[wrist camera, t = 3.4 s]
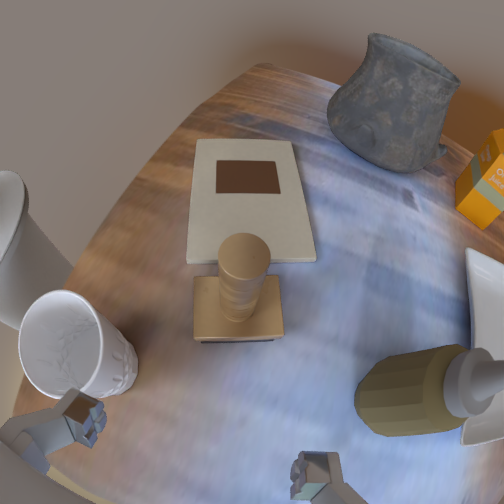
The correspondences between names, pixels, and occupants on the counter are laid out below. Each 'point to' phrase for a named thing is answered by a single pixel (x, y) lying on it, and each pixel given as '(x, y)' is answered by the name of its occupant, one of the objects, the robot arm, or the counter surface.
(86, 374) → the white cup
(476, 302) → the square plate
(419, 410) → the squeeze bottle
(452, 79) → the vessel
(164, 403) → the counter surface
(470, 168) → the orange juice
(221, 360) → the counter surface
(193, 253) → the cream rectangular board
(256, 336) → the scrub brush
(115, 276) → the counter surface
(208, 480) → the counter surface
